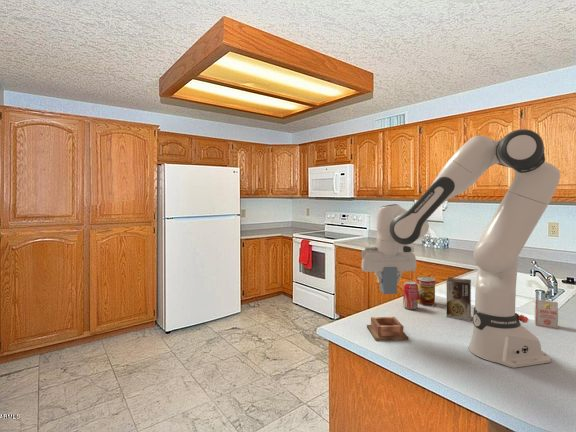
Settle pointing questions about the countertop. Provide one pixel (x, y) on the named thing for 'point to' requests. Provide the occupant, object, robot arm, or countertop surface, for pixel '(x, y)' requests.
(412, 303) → the beverage can
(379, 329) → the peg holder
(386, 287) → the square peg
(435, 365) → the countertop surface
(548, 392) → the countertop surface
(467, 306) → the coffee box
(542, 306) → the beige food box
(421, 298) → the canned food
